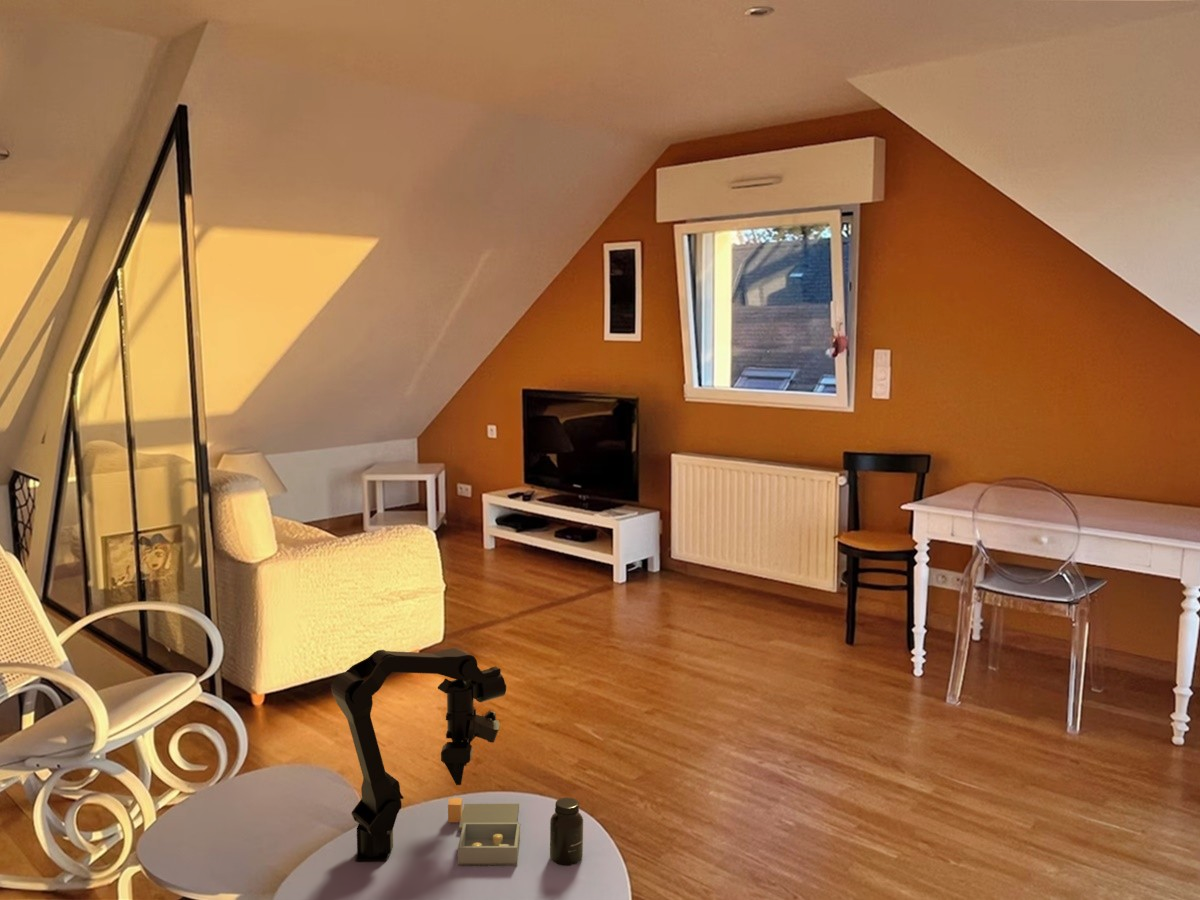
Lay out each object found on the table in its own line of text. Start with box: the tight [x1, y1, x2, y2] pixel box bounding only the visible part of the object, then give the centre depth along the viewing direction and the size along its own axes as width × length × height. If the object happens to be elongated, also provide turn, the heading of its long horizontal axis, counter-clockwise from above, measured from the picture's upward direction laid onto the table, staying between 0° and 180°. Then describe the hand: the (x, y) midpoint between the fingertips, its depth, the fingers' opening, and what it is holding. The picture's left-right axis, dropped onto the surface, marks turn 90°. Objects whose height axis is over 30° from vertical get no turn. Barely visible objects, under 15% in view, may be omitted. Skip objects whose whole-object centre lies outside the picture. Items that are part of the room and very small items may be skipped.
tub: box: [457, 822, 521, 867], centre depth 197 cm, size 12×10×4 cm
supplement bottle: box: [549, 797, 584, 867], centre depth 195 cm, size 7×7×12 cm
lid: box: [447, 797, 520, 832], centre depth 209 cm, size 15×10×5 cm
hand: (461, 775), depth 208 cm, fingers open, 9 cm apart
